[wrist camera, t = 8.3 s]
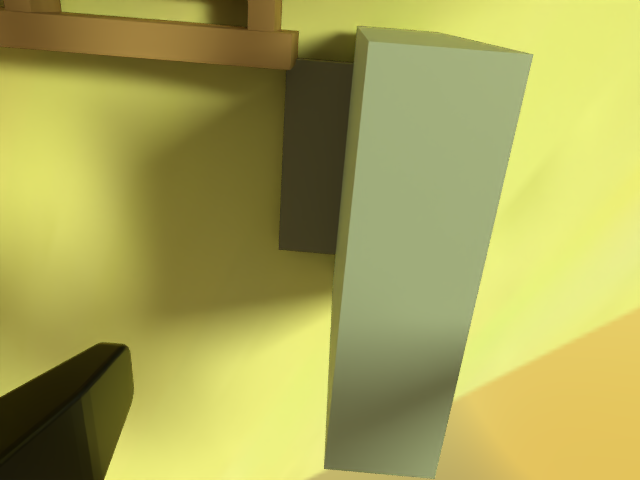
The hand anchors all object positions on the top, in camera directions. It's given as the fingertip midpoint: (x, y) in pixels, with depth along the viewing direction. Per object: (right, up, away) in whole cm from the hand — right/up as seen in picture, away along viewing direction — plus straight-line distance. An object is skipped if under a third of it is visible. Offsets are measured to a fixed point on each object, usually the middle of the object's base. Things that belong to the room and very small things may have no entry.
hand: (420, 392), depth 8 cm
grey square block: (+1, +5, +10) cm, 12 cm away
